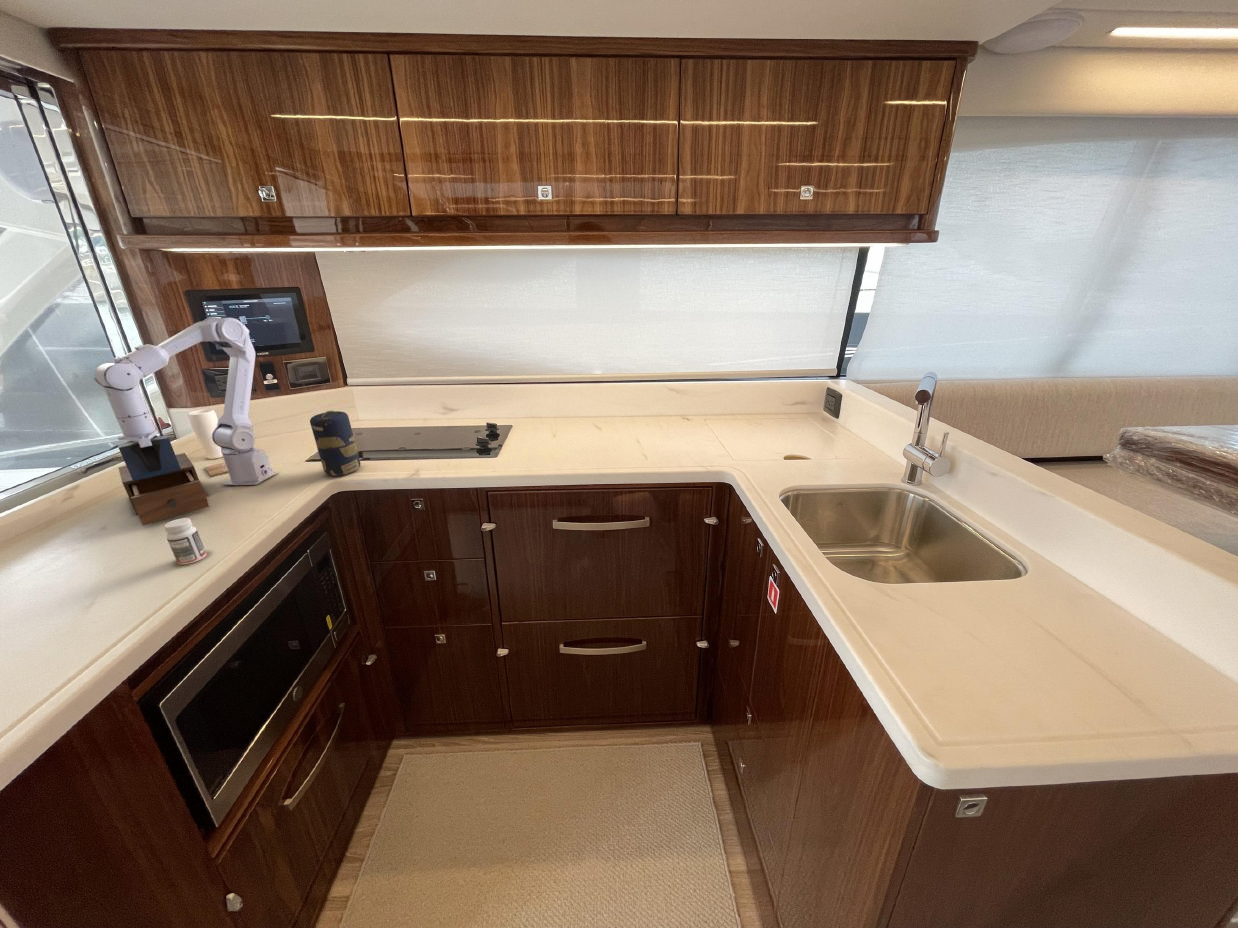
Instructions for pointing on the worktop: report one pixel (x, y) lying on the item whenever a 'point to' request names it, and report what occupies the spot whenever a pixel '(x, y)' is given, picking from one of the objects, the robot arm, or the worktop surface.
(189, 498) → the drawer
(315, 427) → the canister
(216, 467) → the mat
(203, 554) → the pill bottle
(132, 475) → the book
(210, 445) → the white tapered cylinder
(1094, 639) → the worktop surface
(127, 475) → the wooden box
